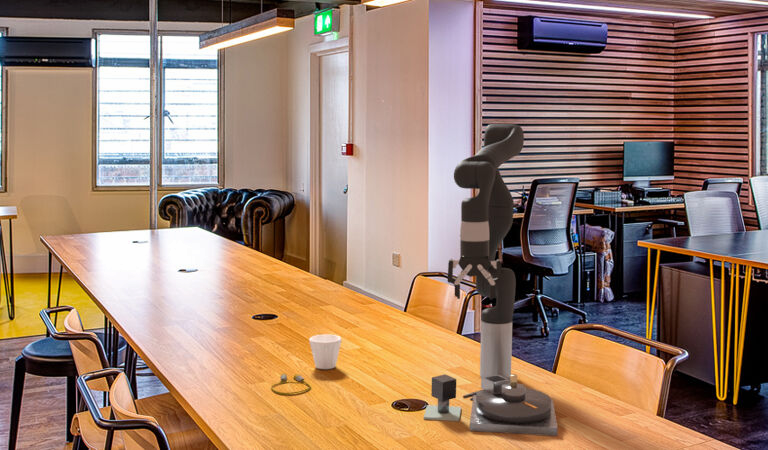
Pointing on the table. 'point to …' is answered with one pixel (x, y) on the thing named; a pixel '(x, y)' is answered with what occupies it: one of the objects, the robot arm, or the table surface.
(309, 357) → the table surface
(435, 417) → the mat
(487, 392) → the chuck collar
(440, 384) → the block
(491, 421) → the drill stand
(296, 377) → the olive earphones
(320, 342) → the cup
